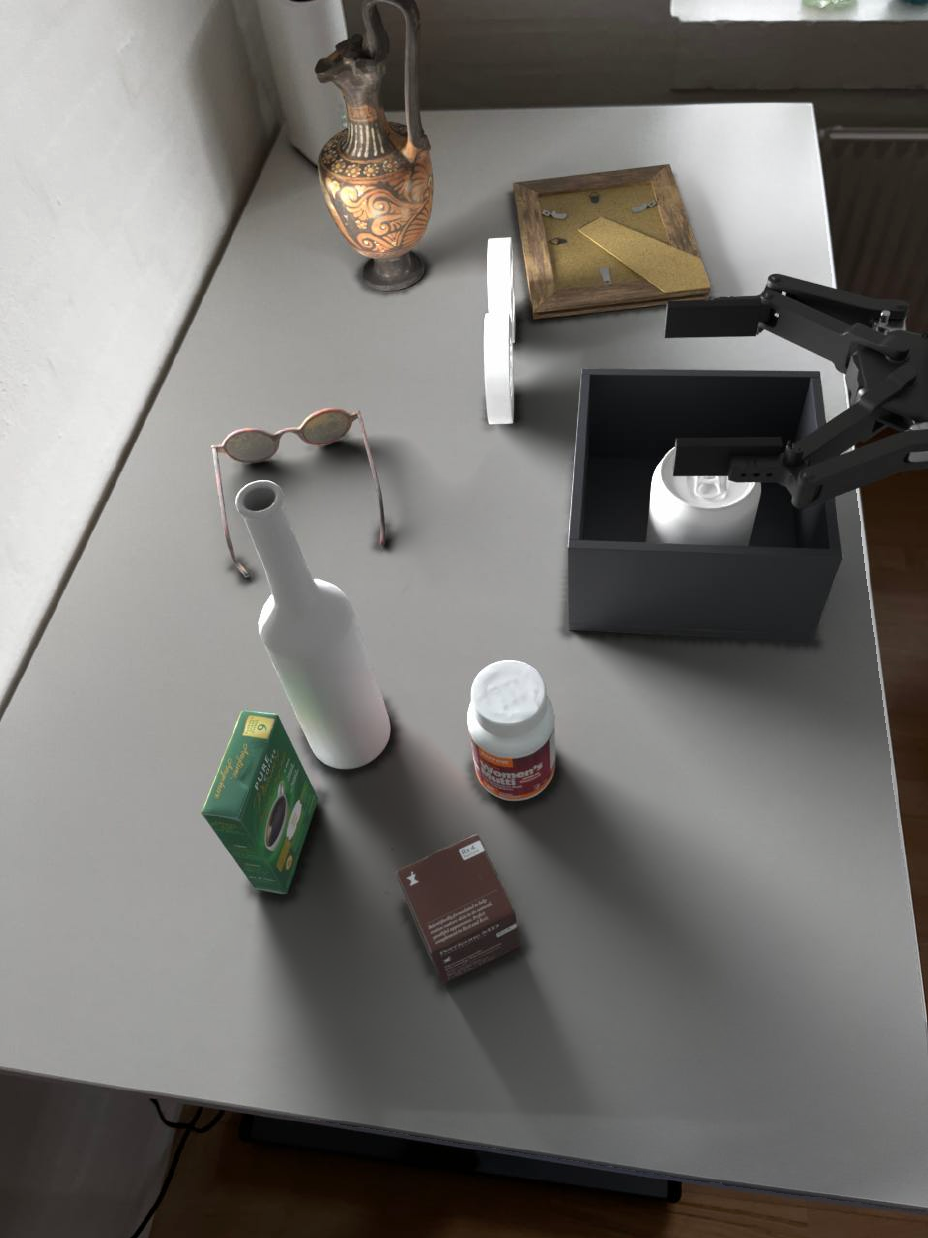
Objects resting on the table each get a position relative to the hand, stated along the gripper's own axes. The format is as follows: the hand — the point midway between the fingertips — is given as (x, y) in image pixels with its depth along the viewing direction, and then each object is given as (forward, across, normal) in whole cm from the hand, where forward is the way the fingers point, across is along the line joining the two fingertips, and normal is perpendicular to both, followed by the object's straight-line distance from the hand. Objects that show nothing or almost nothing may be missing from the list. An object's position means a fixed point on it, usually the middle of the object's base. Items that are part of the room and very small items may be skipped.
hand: (669, 384), depth 67 cm
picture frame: (+3, +47, -21) cm, 51 cm away
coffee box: (+27, -25, -22) cm, 43 cm away
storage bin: (-3, +3, -21) cm, 22 cm away
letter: (+14, +26, -22) cm, 37 cm away
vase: (+27, +42, -21) cm, 54 cm away
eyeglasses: (+32, +8, -22) cm, 39 cm away
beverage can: (-4, 0, -20) cm, 21 cm away
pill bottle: (+11, -19, -22) cm, 30 cm away
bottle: (+24, -16, -22) cm, 36 cm away
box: (+14, -31, -22) cm, 40 cm away
